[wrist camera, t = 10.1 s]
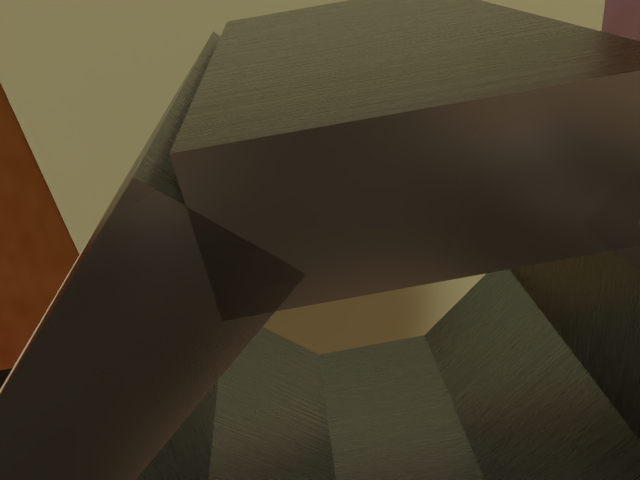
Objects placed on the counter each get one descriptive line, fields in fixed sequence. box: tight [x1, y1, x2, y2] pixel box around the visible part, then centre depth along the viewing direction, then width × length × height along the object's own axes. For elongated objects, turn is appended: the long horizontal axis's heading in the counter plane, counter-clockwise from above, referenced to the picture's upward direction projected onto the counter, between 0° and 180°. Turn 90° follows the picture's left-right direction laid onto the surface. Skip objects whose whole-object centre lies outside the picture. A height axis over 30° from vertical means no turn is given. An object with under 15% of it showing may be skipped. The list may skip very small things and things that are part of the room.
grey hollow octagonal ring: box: [0, 0, 640, 480], centre depth 9 cm, size 10×10×7 cm
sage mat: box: [0, 0, 605, 354], centre depth 17 cm, size 18×20×1 cm
